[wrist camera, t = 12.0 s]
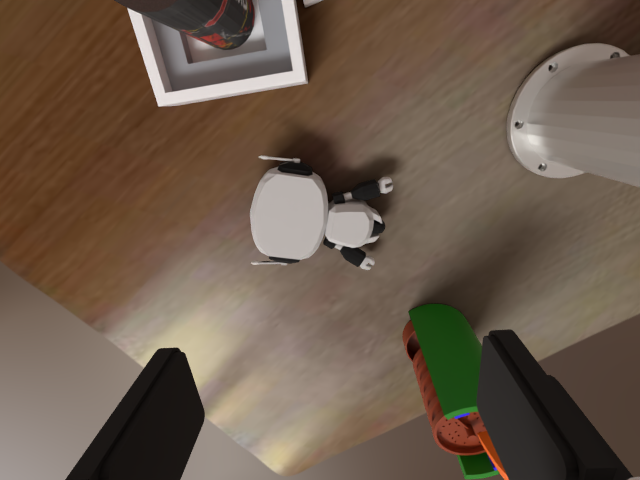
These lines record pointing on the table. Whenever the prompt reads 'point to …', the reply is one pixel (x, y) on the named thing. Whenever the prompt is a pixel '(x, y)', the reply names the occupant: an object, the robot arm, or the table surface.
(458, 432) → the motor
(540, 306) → the table surface
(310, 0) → the lid
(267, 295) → the table surface
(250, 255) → the table surface
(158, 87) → the housing
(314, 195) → the robot toy
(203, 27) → the deodorant
